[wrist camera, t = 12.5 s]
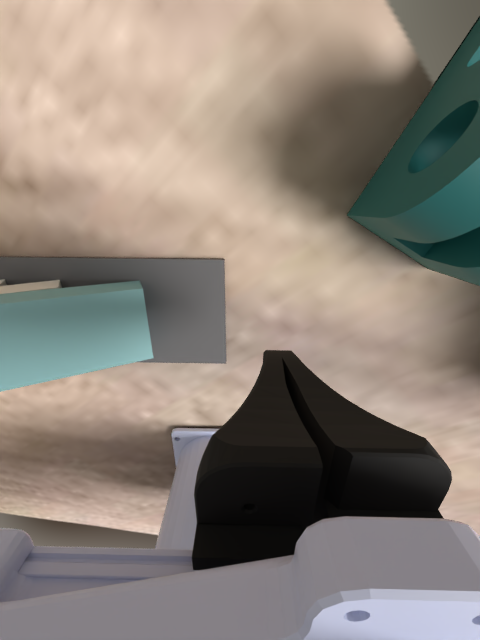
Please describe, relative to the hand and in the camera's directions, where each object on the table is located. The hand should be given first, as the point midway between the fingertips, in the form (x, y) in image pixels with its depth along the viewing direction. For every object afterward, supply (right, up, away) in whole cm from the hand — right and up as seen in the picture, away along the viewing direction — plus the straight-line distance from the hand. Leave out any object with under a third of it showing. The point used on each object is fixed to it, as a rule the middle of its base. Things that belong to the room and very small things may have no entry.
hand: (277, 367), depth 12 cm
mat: (-15, +3, +6) cm, 16 cm away
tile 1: (-8, +2, +5) cm, 10 cm away
